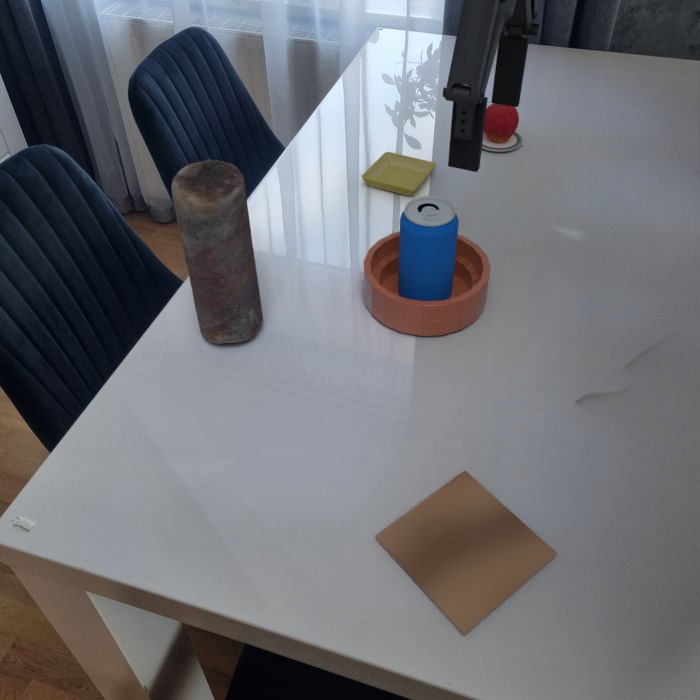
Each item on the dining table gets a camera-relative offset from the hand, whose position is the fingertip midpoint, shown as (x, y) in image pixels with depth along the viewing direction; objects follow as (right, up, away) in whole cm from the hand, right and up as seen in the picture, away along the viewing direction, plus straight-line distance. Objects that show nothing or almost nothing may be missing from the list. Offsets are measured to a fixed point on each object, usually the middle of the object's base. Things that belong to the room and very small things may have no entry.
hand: (485, 133), depth 65 cm
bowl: (-4, -14, +18) cm, 23 cm away
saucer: (-6, +4, +37) cm, 37 cm away
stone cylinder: (-27, -18, +15) cm, 36 cm away
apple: (+11, +13, +45) cm, 48 cm away
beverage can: (-4, -14, +18) cm, 23 cm away
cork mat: (-3, -38, -6) cm, 38 cm away
